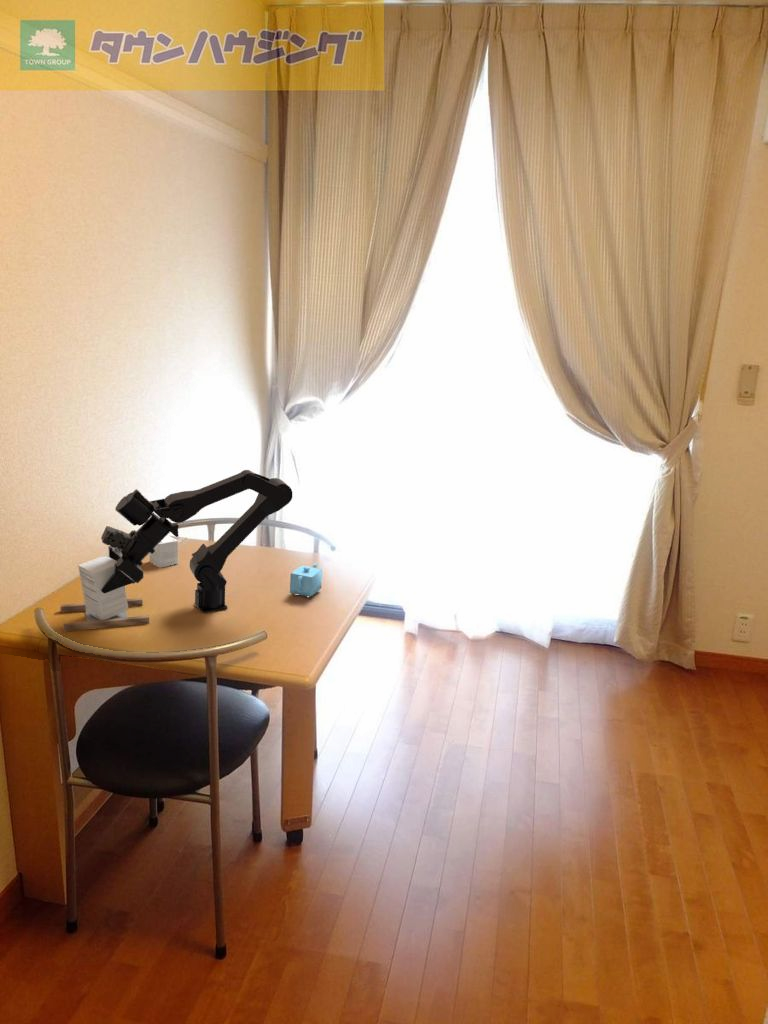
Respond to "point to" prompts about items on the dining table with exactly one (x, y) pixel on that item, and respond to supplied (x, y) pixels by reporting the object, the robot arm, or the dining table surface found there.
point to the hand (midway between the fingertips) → (100, 585)
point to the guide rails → (96, 623)
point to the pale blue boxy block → (306, 580)
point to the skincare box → (165, 553)
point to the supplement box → (92, 583)
